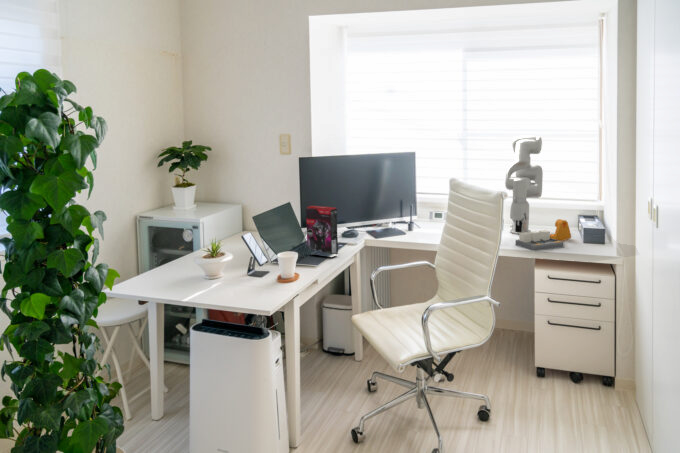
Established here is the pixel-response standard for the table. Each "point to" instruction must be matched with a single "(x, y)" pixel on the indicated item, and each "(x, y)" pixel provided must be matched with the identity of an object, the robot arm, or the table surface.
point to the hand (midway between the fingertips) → (518, 231)
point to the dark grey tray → (540, 244)
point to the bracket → (561, 231)
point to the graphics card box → (322, 229)
